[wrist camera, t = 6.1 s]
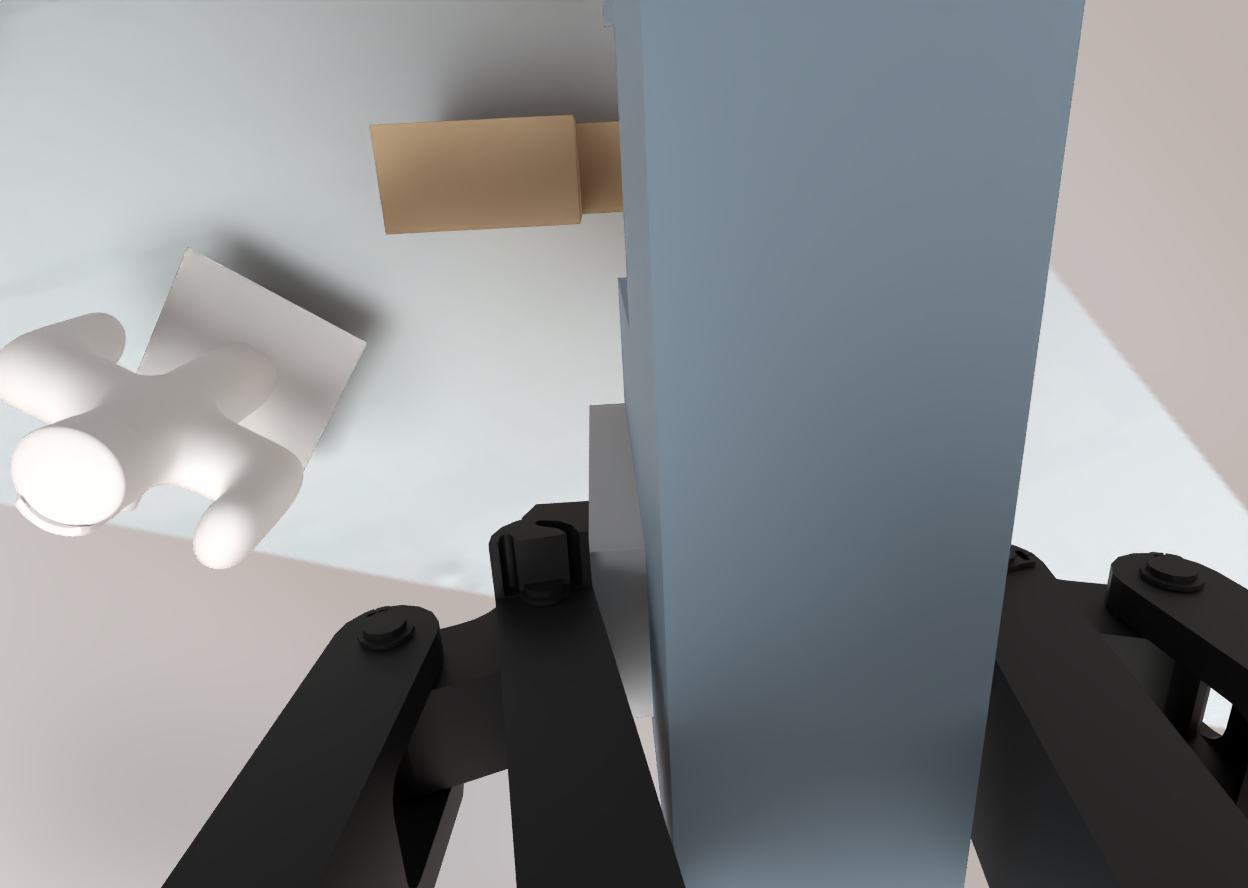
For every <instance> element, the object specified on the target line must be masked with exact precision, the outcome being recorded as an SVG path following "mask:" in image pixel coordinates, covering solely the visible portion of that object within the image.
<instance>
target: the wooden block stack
mask: <svg viewBox="0 0 1248 888" xmlns="http://www.w3.org/2000/svg"><path fill="white" fill-rule="evenodd" d="M370 131H371V138H372V144H373V151H374V158H375V164H376V171H377V178H378V185H379V191H380V198H381V205H382V211H383V218H384V225H385V232H386V234H402V233H420V232H439V231H457V230H476V229H494V228H513V227H531V226H550V225H568V224H580V222H581V217H582V214H588V213H607V212H624V211H623V191H622V172H621V152H620V132H619V121H612V122H592V123H576V121H575V119H574V116H573V115H554V116H535V117H515V118H496V119H476V120H457V121H437V122H418V123H399V124H379V125H370Z"/></svg>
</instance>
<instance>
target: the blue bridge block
mask: <svg viewBox="0 0 1248 888" xmlns="http://www.w3.org/2000/svg"><path fill="white" fill-rule="evenodd" d="M1084 5H1085V0H603V12H604V27H614V33H615V52H616V72H617V92H618V112H619V132H620V152H621V172H622V191H623V211H624V231H625V251H626V271H627V278H618V288H619V307H620V325H621V343H622V362H623V380H624V398H625V406H626V414H627V421H628V428H629V435H630V442H631V450H632V457H633V464H634V471H635V478H636V485H637V493H638V500H639V507H640V514H641V521H642V528H643V536H644V543H645V553H646V573H647V594H648V615H649V636H650V656H651V677H652V698H653V717H652V724H653V734H654V742H655V752H656V761H657V769H658V780H659V789H660V798H661V807H662V813H663V816H664V819H665V822H666V826H667V829H668V832H669V835H670V839H671V842H672V845H673V848H674V852H675V855H676V858H677V861H678V864H679V868H680V871H681V874H682V877H683V881H684V884H685V887H686V888H964V883H965V876H966V868H967V861H968V853H969V847H970V839H971V832H972V825H973V817H974V810H975V803H976V796H977V788H978V781H979V774H980V766H981V759H982V752H983V744H984V737H985V730H986V722H987V715H988V708H989V700H990V693H991V686H992V678H993V671H994V664H995V657H996V649H997V642H998V635H999V627H1000V620H1001V613H1002V605H1003V598H1004V591H1005V583H1006V576H1007V569H1008V561H1009V554H1010V547H1011V539H1012V532H1013V525H1014V518H1015V510H1016V503H1017V496H1018V488H1019V481H1020V474H1021V466H1022V459H1023V452H1024V444H1025V437H1026V430H1027V422H1028V415H1029V408H1030V400H1031V393H1032V386H1033V379H1034V371H1035V364H1036V357H1037V349H1038V342H1039V335H1040V327H1041V320H1042V313H1043V305H1044V298H1045V291H1046V283H1047V276H1048V269H1049V261H1050V253H1051V247H1052V239H1053V231H1054V224H1055V218H1056V209H1057V202H1058V196H1059V188H1060V181H1061V174H1062V166H1063V159H1064V152H1065V144H1066V137H1067V130H1068V122H1069V115H1070V108H1071V100H1072V93H1073V85H1074V79H1075V71H1076V64H1077V56H1078V49H1079V42H1080V35H1081V27H1082V20H1083V12H1084Z"/></svg>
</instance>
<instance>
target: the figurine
mask: <svg viewBox="0 0 1248 888" xmlns="http://www.w3.org/2000/svg"><path fill="white" fill-rule="evenodd" d="M125 341H126V336H125V331H124V328H123V326H122V325H121V323H120V322H119V321H118V320H117V319H116V318H115V317H113V316H111V315H109V314H106V313H90V314H86V315H83V316H79V317H76V318H73V319H69V320H66V321H63V322H59V323H56V324H52V325H49V326H46V327H43V328H40V329H37V330H34V331H31V332H28V333H26V334H24V335H21V336H20V337H18V338H16V339H14V340H13V341H11V342H10V343H9V344H7V345H6V346H5V347H4V348H3V349H2V350H1V351H0V399H1V400H3V401H4V402H6V403H7V404H9V405H11V406H12V407H14V408H16V409H18V410H20V411H22V412H24V413H27V414H29V415H31V416H33V417H35V418H37V419H39V420H41V421H44V422H46V423H48V424H50V425H47V426H45V427H42V428H39V429H37V430H35V431H32V432H30V433H29V434H28V435H26V436H25V437H23V438H22V440H21V441H20V442H19V443H18V444H17V446H16V447H15V449H14V451H13V454H12V457H11V463H10V470H11V477H12V480H13V483H14V485H15V487H16V489H17V491H18V494H17V497H16V500H15V505H16V507H17V508H18V510H19V511H20V512H21V514H22V515H23V516H24V517H25V518H27V519H28V520H29V521H31V522H32V523H33V524H35V525H36V526H38V527H39V528H41V529H43V530H45V531H47V532H50V533H53V534H57V535H63V536H68V537H71V536H83V535H88V534H90V533H92V532H93V531H95V530H96V529H97V528H99V527H100V526H102V525H103V524H104V523H106V522H107V521H109V520H110V519H111V518H113V517H114V516H115V515H117V514H118V513H119V512H120V511H130V510H134V509H135V508H136V507H137V506H138V503H139V501H140V499H141V496H142V495H143V494H144V493H145V492H146V490H148V489H149V488H151V487H155V486H161V485H174V486H179V487H183V488H186V489H188V490H191V491H193V492H195V493H197V494H199V495H201V496H203V497H205V498H208V499H210V500H212V501H214V502H213V503H212V504H211V505H210V506H209V508H208V509H207V510H206V511H205V513H204V514H203V515H202V517H201V519H200V520H199V522H198V524H197V527H196V529H195V532H194V537H193V548H194V553H195V555H196V557H197V558H198V560H199V561H200V562H201V563H202V564H203V565H205V566H207V567H210V568H212V569H226V568H229V567H232V566H234V565H236V564H238V563H239V562H241V561H242V560H243V559H244V558H245V557H246V556H247V555H248V554H249V553H250V552H251V551H252V550H253V549H254V548H255V547H256V546H257V545H258V543H259V542H260V541H261V540H262V539H263V538H264V537H265V535H266V534H267V533H268V532H269V531H270V530H271V529H272V528H273V526H274V525H275V524H276V523H277V522H278V521H279V520H280V518H281V517H282V516H283V515H284V513H285V512H286V511H287V510H288V508H289V507H290V506H291V504H292V503H293V501H294V500H295V498H296V496H297V494H298V492H299V490H300V487H301V485H302V481H303V472H304V470H305V468H306V466H307V464H308V462H309V460H310V458H311V456H312V454H313V452H314V450H315V448H316V446H317V444H318V442H319V440H320V438H321V436H322V434H323V432H324V430H325V428H326V426H327V424H328V422H329V420H330V417H331V415H332V413H333V411H334V409H335V407H336V405H337V403H338V401H339V399H340V397H341V395H342V393H343V391H344V389H345V387H346V385H347V383H348V381H349V379H350V377H351V375H352V373H353V371H354V369H355V367H356V365H357V363H358V361H359V359H360V357H361V355H362V353H363V351H364V349H365V347H366V345H367V342H365V341H363V340H361V339H359V338H357V337H355V336H354V335H352V334H350V333H348V332H346V331H344V330H342V329H340V328H339V327H337V326H335V325H333V324H331V323H329V322H327V321H325V320H324V319H322V318H320V317H318V316H316V315H314V314H312V313H311V312H309V311H307V310H305V309H303V308H301V307H299V306H297V305H296V304H294V303H292V302H290V301H288V300H286V299H284V298H282V297H281V296H279V295H277V294H275V293H273V292H271V291H269V290H268V289H266V288H264V287H262V286H260V285H258V284H256V283H254V282H253V281H251V280H249V279H247V278H245V277H243V276H241V275H239V274H238V273H236V272H234V271H232V270H230V269H228V268H226V267H225V266H223V265H221V264H219V263H217V262H215V261H213V260H211V259H210V258H208V257H206V256H204V255H202V254H200V253H198V252H196V251H195V250H193V249H191V248H189V247H187V249H186V252H185V254H184V257H183V259H182V261H181V264H180V266H179V269H178V271H177V274H176V276H175V279H174V281H173V284H172V286H171V289H170V291H169V294H168V296H167V299H166V301H165V304H164V306H163V309H162V311H161V314H160V316H159V319H158V321H157V324H156V326H155V328H154V331H153V333H152V336H151V338H150V341H149V343H148V346H147V348H146V351H145V353H144V356H143V358H142V361H141V363H140V366H139V368H138V371H137V373H136V374H135V373H133V372H131V371H129V370H127V369H125V368H123V367H121V366H119V365H117V364H116V363H117V362H118V360H119V359H120V357H121V355H122V353H123V350H124V347H125Z"/></svg>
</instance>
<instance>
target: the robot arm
mask: <svg viewBox="0 0 1248 888" xmlns="http://www.w3.org/2000/svg"><path fill="white" fill-rule="evenodd" d="M489 553H490V561H491V568H492V576H493V584H494V592H495V601H496V608H494V609H493V610H492V611H490V612H489V613H487V614H485V615H483V616H481V617H479V618H477V619H474V620H471V621H468V622H465V623H462V624H458V625H455V626H451V627H447V628H443V629H440V627H439V621H438V620H437V618H436V617H435V615H434V614H433V612H431V611H428V610H426V609H424V608H421V607H417V606H406V605H399V606H391V607H390V606H385V607H381V608H377V609H376V610H374V609H373V610H371V611H368V612H366V613H364V614H362V615H360V616H358V617H356V618H355V619H353V620H351V621H349V622H347V623H346V624H345V625H344V626H343V627H342V628H341V629H340V630H339V631H338V632H337V633H336V634H335V635H334V637H333V638H332V640H331V641H330V643H329V644H328V645H327V647H326V648H325V650H324V651H323V653H322V654H321V656H320V657H319V659H318V660H317V661H316V663H315V665H314V666H313V667H312V669H311V670H310V672H309V673H308V675H307V676H306V678H305V679H304V680H303V682H302V683H301V685H300V686H299V688H298V689H297V691H296V692H295V693H294V695H293V696H292V698H291V699H290V701H289V702H288V704H287V705H286V707H285V708H284V709H283V711H282V712H281V714H280V715H279V717H278V718H277V720H276V721H275V723H274V724H273V726H272V727H271V728H270V730H269V731H268V733H267V734H266V736H265V737H264V739H263V740H262V741H261V743H260V744H259V746H258V748H257V749H256V750H255V752H254V753H253V755H252V756H251V758H250V759H249V760H248V762H247V763H246V765H245V766H244V768H243V769H242V771H241V772H240V774H239V775H238V776H237V778H236V779H235V781H234V782H233V784H232V785H231V787H230V788H229V790H228V791H227V792H226V794H225V795H224V797H223V799H222V800H221V801H220V803H219V804H218V806H217V807H216V808H215V810H214V811H213V813H212V814H211V816H210V817H209V819H208V820H207V822H206V823H205V824H204V826H203V828H202V829H201V831H200V832H199V833H198V835H197V836H196V838H195V839H194V841H193V842H192V843H191V845H190V846H189V848H188V849H187V851H186V852H185V854H184V855H183V857H182V858H181V859H180V861H179V862H178V864H177V865H176V867H175V868H174V870H173V871H172V873H171V874H170V875H169V877H168V879H167V880H166V881H165V883H164V884H163V886H162V887H161V888H434V887H435V883H436V880H437V877H438V874H439V871H440V868H441V865H442V861H443V858H444V855H445V852H446V849H447V845H448V842H449V839H450V835H451V833H452V829H453V826H454V823H455V820H456V817H457V813H458V810H459V807H460V804H461V801H462V797H463V788H464V783H466V782H468V781H472V780H475V779H478V778H481V777H484V776H487V775H490V774H493V773H496V772H499V771H502V770H505V769H508V776H509V789H510V803H511V815H512V829H513V842H514V857H515V870H516V883H517V888H686V887H685V884H684V881H683V877H682V874H681V871H680V868H679V864H678V861H677V858H676V855H675V852H674V848H673V845H672V842H671V839H670V835H669V832H668V829H667V826H666V822H665V819H664V816H663V813H662V809H661V806H660V803H659V800H658V797H657V793H656V790H655V787H654V784H653V780H652V777H651V774H650V771H649V768H648V764H647V761H646V758H645V754H644V752H643V748H642V745H641V741H640V738H639V735H638V732H637V729H636V725H635V722H634V719H633V718H639V717H653V698H652V677H651V656H650V636H649V615H648V594H647V573H646V553H645V543H644V536H643V528H642V521H641V514H640V507H639V500H638V493H637V485H636V478H635V471H634V464H633V457H632V450H631V442H630V435H629V428H628V421H627V414H626V406H625V403H622V404H606V405H590V415H589V501H581V502H566V503H551V504H536V505H535V506H534V507H533V508H532V509H531V510H530V511H529V512H528V513H527V514H526V515H524V516H523V517H522V520H519V521H515V522H513V523H511V524H508V525H506V526H504V527H502V528H500V529H499V530H498V531H497V532H495V533H494V534H493V535H492V536H491V539H490V542H489ZM1210 688H1212V689H1214V690H1215V691H1216V692H1217V693H1219V694H1220V695H1221V696H1223V697H1224V698H1225V699H1227V700H1228V701H1229V702H1231V703H1232V704H1233V705H1232V709H1231V713H1230V716H1229V720H1228V724H1227V728H1226V730H1225V732H1224V734H1223V735H1220V734H1218V733H1217V732H1215V731H1213V730H1212V729H1211V728H1210V727H1208V726H1207V725H1206V724H1205V723H1203V722H1202V720H1203V716H1204V712H1205V708H1206V704H1207V700H1208V696H1209V692H1210ZM971 839H972V842H973V845H974V847H975V850H976V853H977V855H978V858H979V861H980V863H981V866H982V869H983V871H984V874H985V877H986V880H987V882H988V885H989V888H1248V589H1246V588H1244V587H1242V586H1241V585H1239V584H1237V583H1236V582H1234V581H1232V580H1230V579H1229V578H1227V577H1225V576H1224V575H1222V574H1220V573H1218V572H1217V571H1214V570H1212V569H1210V568H1208V567H1206V566H1204V565H1201V564H1199V563H1196V562H1193V561H1189V560H1186V559H1183V558H1182V557H1180V556H1177V555H1172V554H1167V553H1166V555H1164V554H1163V553H1157V552H1150V553H1133V554H1129V555H1125V556H1121V557H1118V558H1117V559H1116V560H1115V561H1114V562H1113V563H1112V564H1111V568H1110V573H1109V578H1108V584H1097V583H1087V582H1077V581H1066V580H1060V579H1056V578H1055V577H1054V575H1053V574H1052V573H1051V572H1050V570H1049V569H1048V568H1047V567H1046V565H1045V564H1044V563H1043V562H1042V561H1041V560H1040V559H1039V558H1037V557H1036V556H1035V555H1034V554H1033V553H1031V552H1028V551H1027V550H1025V549H1022V548H1019V547H1017V546H1014V545H1011V547H1010V554H1009V561H1008V569H1007V576H1006V583H1005V591H1004V598H1003V605H1002V613H1001V620H1000V627H999V635H998V642H997V649H996V657H995V664H994V671H993V678H992V686H991V693H990V700H989V708H988V715H987V722H986V730H985V737H984V744H983V752H982V759H981V766H980V774H979V781H978V788H977V796H976V803H975V810H974V817H973V825H972V832H971Z"/></svg>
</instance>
